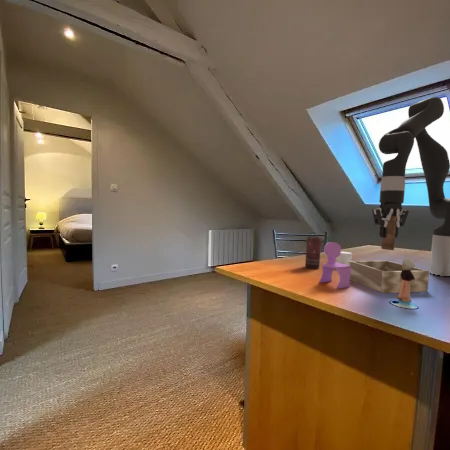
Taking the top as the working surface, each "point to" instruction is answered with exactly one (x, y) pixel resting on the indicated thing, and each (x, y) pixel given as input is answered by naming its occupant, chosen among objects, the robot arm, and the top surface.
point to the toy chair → (335, 266)
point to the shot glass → (344, 258)
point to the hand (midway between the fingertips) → (388, 237)
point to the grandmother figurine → (406, 280)
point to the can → (313, 252)
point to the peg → (390, 234)
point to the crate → (386, 276)
